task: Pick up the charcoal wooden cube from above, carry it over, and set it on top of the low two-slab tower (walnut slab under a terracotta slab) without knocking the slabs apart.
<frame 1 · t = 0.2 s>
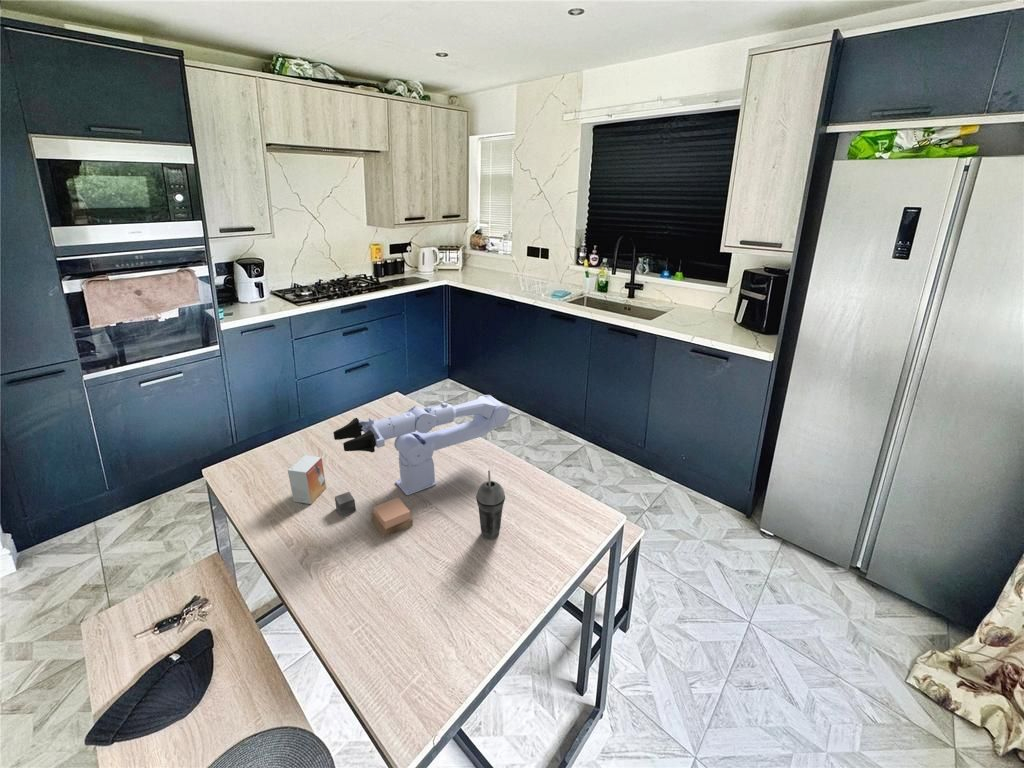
hand: (338, 441, 126), 21 cm above the table, tool horizontal, fingers open, 7 cm apart
charcoal cube: (346, 509, 134), on the table
small box: (310, 495, 140), on the table
terracotta slab: (392, 516, 129), point 2 cm above the table, touching walnut slab
walnut slab: (392, 524, 130), on the table, touching terracotta slab
beverage cup: (490, 534, 127), on the table
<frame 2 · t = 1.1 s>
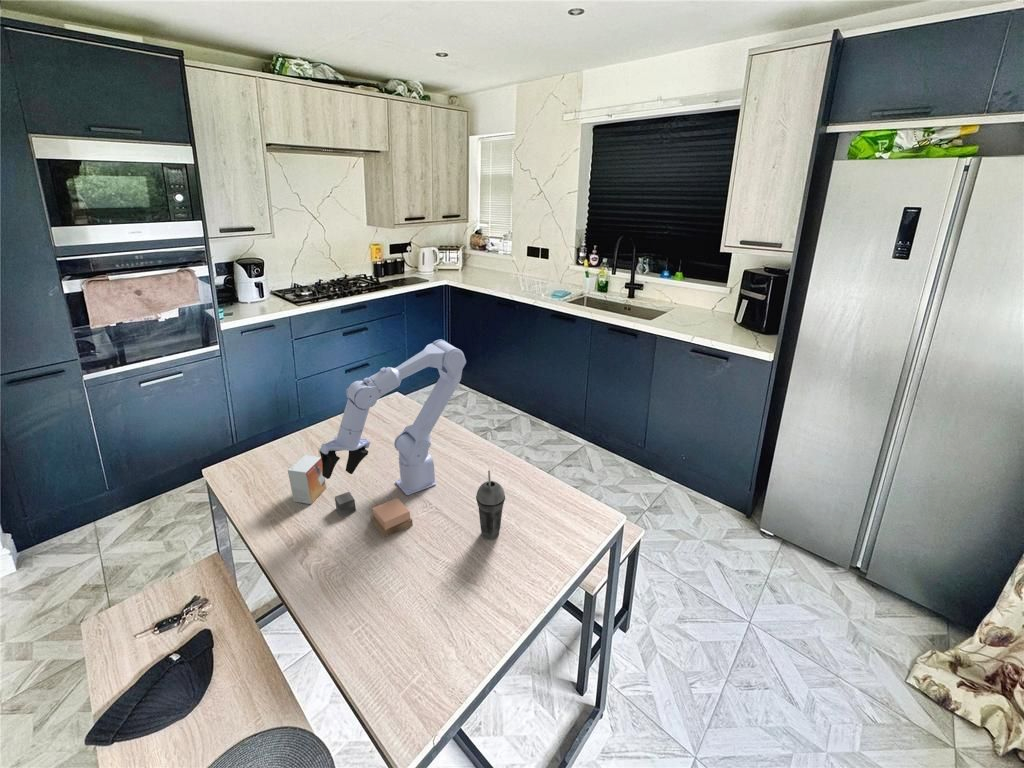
hand: (337, 474, 129), 12 cm above the table, tool tilted 20°, fingers open, 7 cm apart
nothing on the table moved.
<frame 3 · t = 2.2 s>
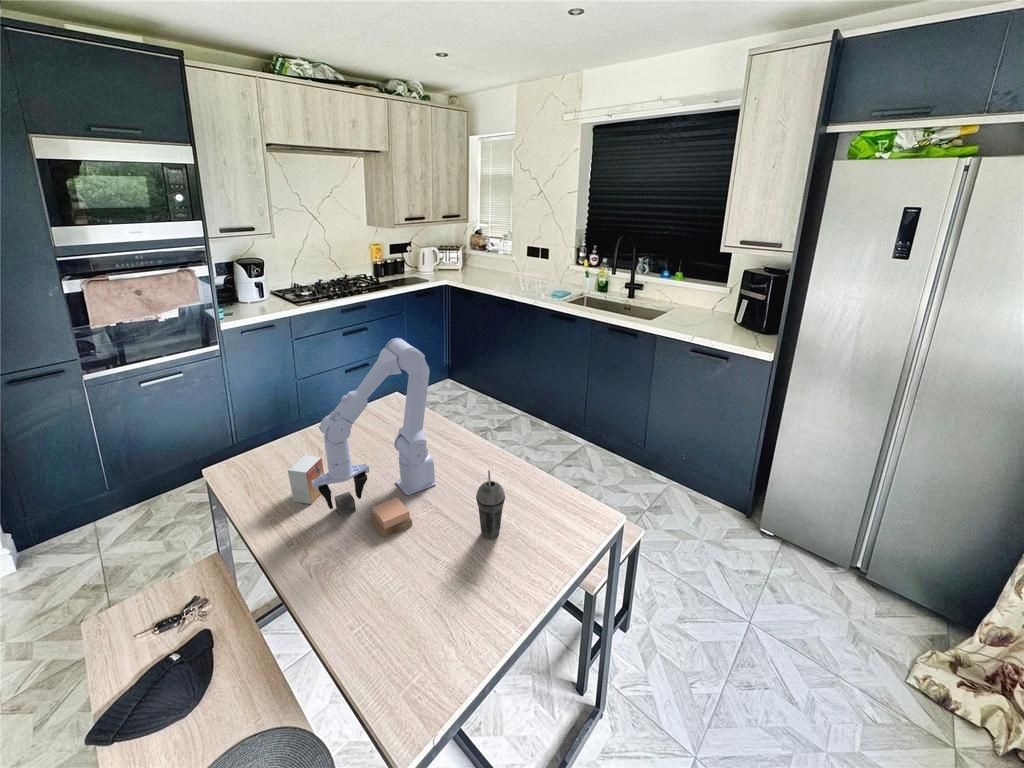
hand: (344, 501, 133), 3 cm above the table, tool pointing down, fingers open, 7 cm apart
nothing on the table moved.
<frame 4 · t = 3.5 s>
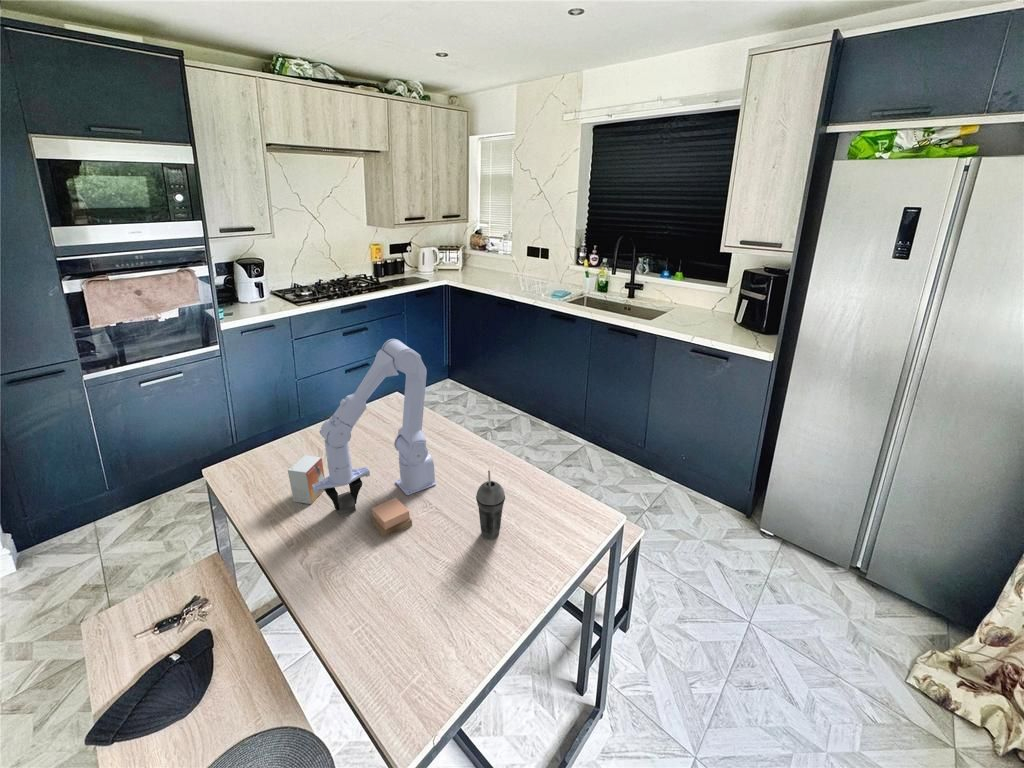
hand: (345, 505, 134), 1 cm above the table, tool pointing down, fingers closed on charcoal cube, 4 cm apart
charcoal cube: (346, 509, 134), on the table, touching gripper
terracotta slab: (391, 517, 129), point 2 cm above the table
walnut slab: (391, 525, 130), on the table
everything else where it was.
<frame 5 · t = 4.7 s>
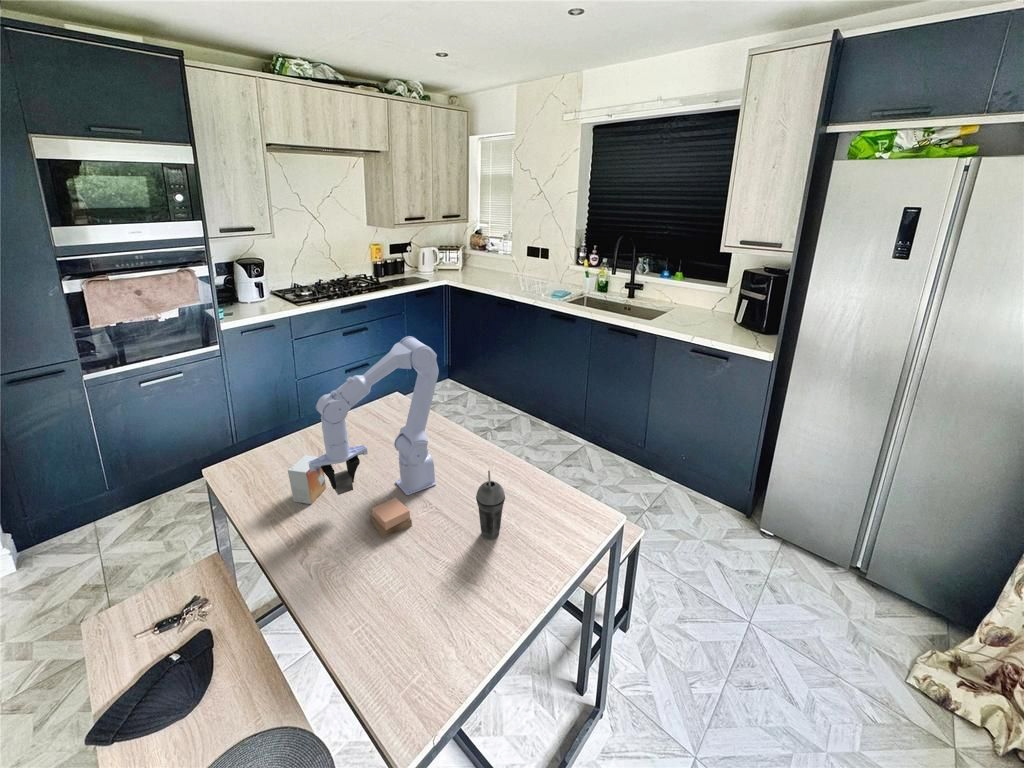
hand: (342, 484, 131), 8 cm above the table, tool pointing down, fingers closed on charcoal cube, 4 cm apart
charcoal cube: (343, 488, 132), point 7 cm above the table, touching gripper
everything else where it was.
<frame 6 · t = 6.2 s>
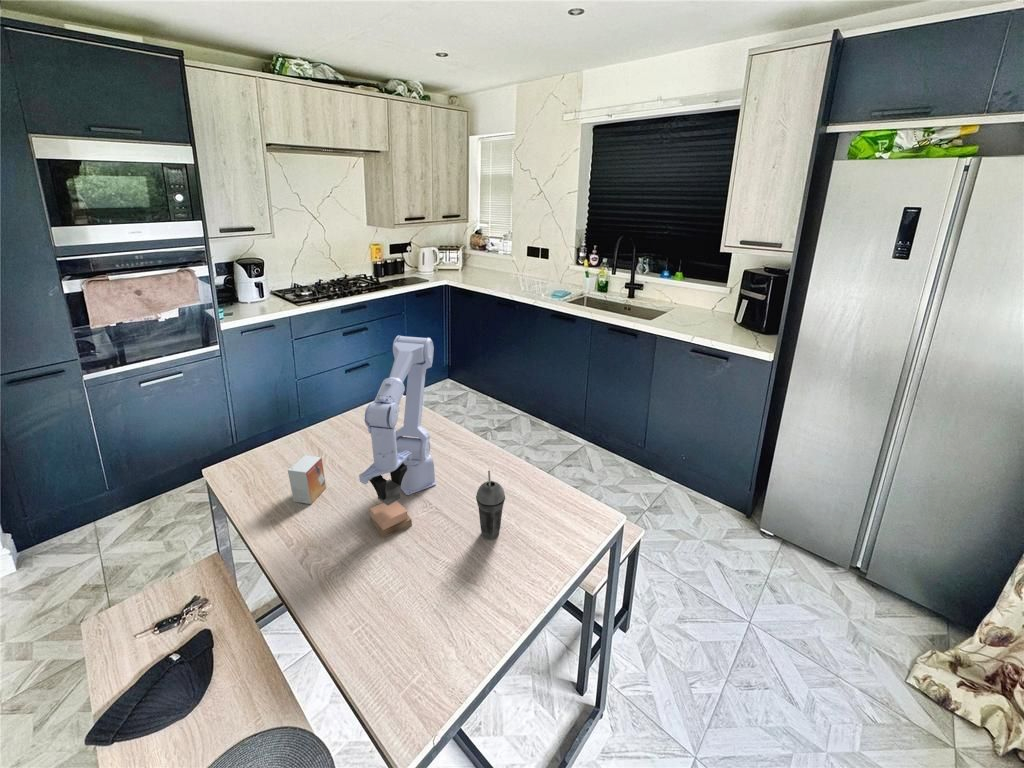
hand: (389, 493, 126), 9 cm above the table, tool pointing down, fingers closed on charcoal cube, 4 cm apart
charcoal cube: (389, 498, 127), point 8 cm above the table, touching gripper
terracotta slab: (389, 517, 129), point 2 cm above the table, touching walnut slab
walnut slab: (391, 524, 130), on the table, touching terracotta slab
everything else where it was.
when the fingers open (7 cm above the table, at t = 7.0 s): charcoal cube drops 1 cm, resting on terracotta slab.
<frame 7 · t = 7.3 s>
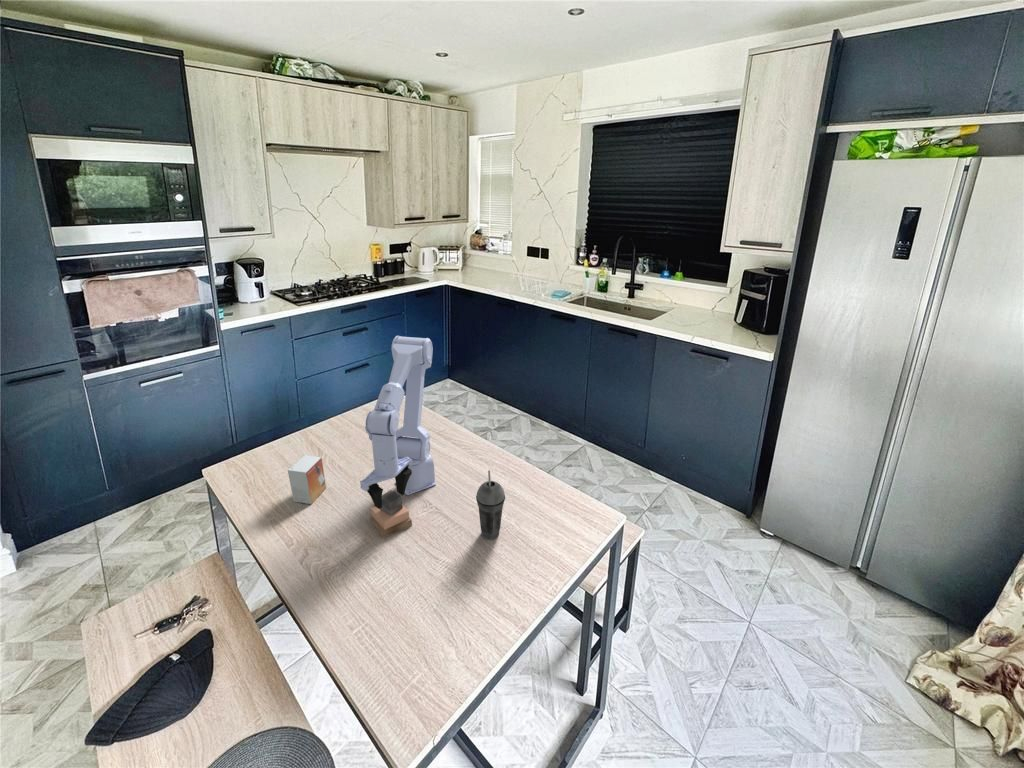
hand: (389, 499, 127), 7 cm above the table, tool pointing down, fingers open, 7 cm apart
charcoal cube: (391, 508, 128), point 4 cm above the table, touching terracotta slab
terracotta slab: (390, 517, 129), point 2 cm above the table, touching charcoal cube
walnut slab: (391, 524, 130), on the table
everything else where it was.
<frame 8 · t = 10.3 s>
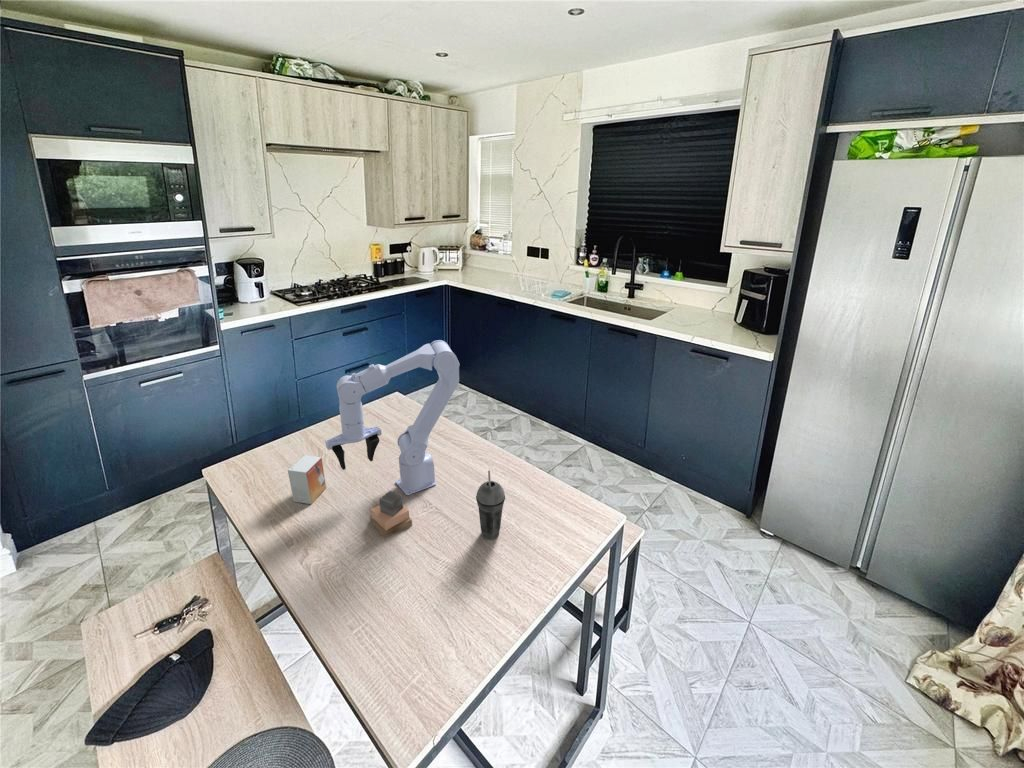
hand: (356, 463, 136), 10 cm above the table, tool pointing down, fingers open, 7 cm apart
charcoal cube: (391, 509, 128), point 4 cm above the table
terracotta slab: (390, 517, 129), point 2 cm above the table, touching walnut slab
walnut slab: (391, 524, 130), on the table, touching terracotta slab
everything else where it was.
at the end: charcoal cube 0.6 cm off-centre on the terracotta slab, point 2.5 cm above the terracotta slab's base; charcoal cube tilted 1°; terracotta slab 0.0 cm off-centre on the walnut slab, point 2.5 cm above the walnut slab's base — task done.
